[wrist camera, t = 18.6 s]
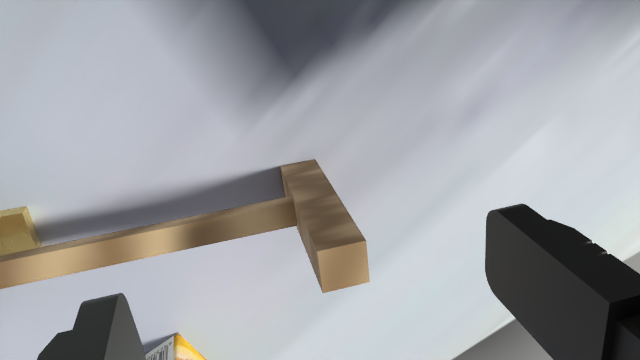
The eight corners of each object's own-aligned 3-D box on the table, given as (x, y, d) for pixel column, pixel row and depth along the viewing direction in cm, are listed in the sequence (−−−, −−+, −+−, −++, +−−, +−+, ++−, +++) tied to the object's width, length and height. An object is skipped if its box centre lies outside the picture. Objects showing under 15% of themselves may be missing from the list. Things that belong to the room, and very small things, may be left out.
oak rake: (313, 148, 42) (364, 226, 30) (320, 201, 45) (370, 295, 32) (-58, 218, 38) (-181, 345, 25) (-31, 274, 40) (-133, 416, 27)
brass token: (-35, 214, 39) (-44, 224, 37) (28, 204, 39) (22, 212, 38) (-14, 264, 40) (-21, 275, 39) (46, 253, 41) (41, 263, 40)
